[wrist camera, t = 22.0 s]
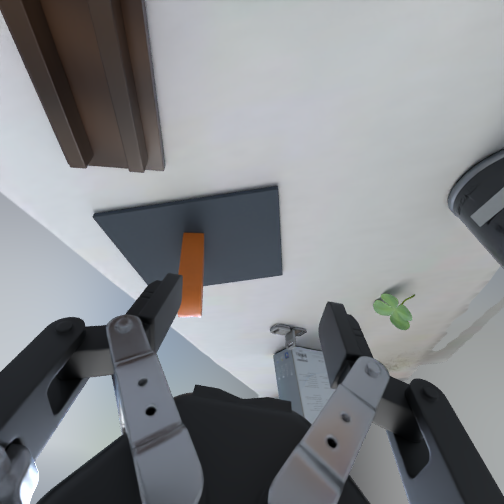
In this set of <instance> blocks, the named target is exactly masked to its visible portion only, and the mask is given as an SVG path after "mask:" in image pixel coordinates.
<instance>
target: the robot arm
mask: <svg viewBox="0 0 504 504" xmlns="http://www.w3.org/2000/svg"><path fill="white" fill-rule="evenodd" d="M448 207H449V209H450V210H451V211H452V212H453V213H454V215H455V216H457V217H458V218H459V219H460V220H461V221H462V222H463V223H464V224H465V225H466V227H467V228H468V229H469V230H470V231H471V232H472V234H473V235H474V236H475V237H476V238H477V239H478V240H479V242H480V243H481V244H482V245H483V246H484V247H485V248H486V249H487V251H488V252H489V253H490V254H491V255H492V256H493V257H494V259H495V260H496V261H497V262H498V263H499V264H500V265H501V266H502V268H503V269H504V150H502V151H499V152H497V153H495V154H493V155H491V156H490V157H488V158H486V159H484V160H483V161H481V162H480V163H478V164H477V165H476V166H474V167H473V168H472V169H470V170H469V171H468V172H467V173H466V174H465V175H464V176H463V177H462V178H461V179H460V180H459V181H458V182H457V183H456V185H455V186H454V188H453V189H452V191H451V193H450V195H449V198H448ZM182 286H183V276H182V275H179V274H173V273H168V274H167V275H166V276H165V278H164V279H163V280H162V281H160V280H156V281H154V282H152V283H151V284H149V285H148V286H147V287H146V289H145V290H144V292H142V294H141V295H140V297H139V298H138V299H137V300H136V301H135V303H134V304H133V305H132V307H131V308H130V309H129V310H128V312H127V313H126V314H125V315H121V316H118V317H115V318H114V319H112V320H111V321H110V322H109V323H108V324H107V325H103V326H89V327H85V323H84V321H83V320H82V319H80V318H76V317H68V318H63V319H59V320H57V321H55V322H53V323H51V324H50V325H48V326H47V327H46V328H45V329H44V330H43V331H42V332H41V333H40V334H39V335H38V336H37V337H36V338H35V339H34V340H33V341H32V342H31V343H30V344H29V345H28V346H27V347H26V348H25V349H24V350H23V351H21V353H19V354H18V356H17V357H15V358H14V359H13V360H12V361H11V362H10V363H9V364H8V365H7V366H6V367H5V368H4V369H3V370H2V371H1V372H0V504H29V502H30V499H31V496H32V494H33V492H34V490H35V487H36V485H37V482H38V470H37V467H36V465H35V460H36V459H37V457H38V456H39V454H40V453H41V451H42V450H43V448H44V447H45V445H46V444H47V442H48V440H49V439H50V437H51V436H52V434H53V433H54V431H55V430H56V428H57V427H58V425H59V424H60V422H61V421H62V419H63V418H64V416H65V414H66V413H67V411H68V410H69V408H70V407H71V405H72V404H73V402H74V401H75V399H76V398H77V396H78V394H79V393H80V392H81V390H82V388H83V387H84V385H85V384H86V382H87V381H88V379H89V378H90V377H97V376H106V375H112V380H113V386H114V391H115V396H116V401H117V407H118V413H119V419H120V425H121V432H122V436H120V437H119V438H118V439H116V440H115V441H114V442H112V443H111V444H110V445H108V446H107V447H106V448H104V449H103V450H102V451H101V452H99V453H98V454H97V455H95V456H94V457H93V458H92V459H90V460H89V461H87V462H86V463H85V464H84V465H82V466H81V467H80V468H79V469H77V470H76V471H74V472H73V473H72V474H71V475H69V476H68V477H67V478H65V479H64V480H63V481H62V482H60V483H59V484H57V485H56V486H55V487H54V488H52V489H51V490H50V491H49V492H48V493H46V495H44V496H43V497H42V498H41V499H40V500H39V501H38V502H37V503H36V504H370V503H369V501H368V500H367V498H366V497H365V496H364V494H363V493H362V492H361V490H360V489H359V487H358V486H357V485H356V483H355V482H354V480H353V479H352V478H351V476H350V475H349V473H350V470H351V468H352V466H353V464H354V462H355V459H356V457H357V455H358V453H359V450H360V448H361V446H362V444H363V441H364V439H365V437H366V434H367V432H368V430H369V428H370V426H371V423H374V424H376V425H378V426H380V427H382V428H384V429H386V432H387V435H388V438H389V442H390V445H391V448H392V451H393V454H394V457H395V460H396V463H397V467H398V470H399V473H400V476H401V479H402V483H403V485H404V488H405V492H406V495H407V498H408V501H409V504H504V496H503V494H502V493H501V491H500V489H499V487H498V486H497V484H496V482H495V480H494V479H493V478H492V475H491V474H490V472H489V470H488V469H487V467H486V465H485V463H484V462H483V460H482V458H481V457H480V455H479V453H478V451H477V450H476V448H475V446H474V444H473V443H472V441H471V439H470V438H469V436H468V434H467V432H466V431H465V429H464V427H463V426H462V424H461V422H460V420H459V419H458V417H457V416H456V413H455V412H454V410H453V408H452V407H451V405H450V403H449V401H448V400H447V398H446V397H445V395H444V394H443V393H442V391H441V390H439V389H438V388H437V387H436V386H435V385H433V384H432V383H430V382H428V381H426V380H423V379H413V380H412V381H411V383H410V384H407V383H405V382H402V381H400V380H398V379H395V378H393V377H391V376H390V375H389V372H388V370H387V369H386V368H385V366H384V365H383V364H382V363H380V362H379V361H377V360H376V359H374V358H373V356H372V354H371V351H370V349H369V347H368V344H367V342H366V340H365V338H364V335H363V333H362V331H361V328H360V326H359V324H358V322H357V321H356V320H355V318H354V317H353V316H352V315H349V314H347V313H346V310H345V308H344V305H343V304H340V303H334V302H328V303H327V304H326V307H325V310H324V312H323V315H322V318H321V321H320V323H319V338H320V343H321V347H322V352H323V356H324V361H325V365H326V370H327V374H328V379H329V384H330V388H332V389H336V390H335V391H334V393H333V394H332V396H331V397H330V398H329V400H328V401H327V403H326V404H325V406H324V407H323V409H322V410H321V412H320V413H319V415H318V416H317V418H316V419H315V421H314V422H313V424H311V423H310V422H309V421H308V420H307V419H306V418H304V417H303V416H302V415H300V414H298V413H297V412H295V411H293V410H292V406H291V401H286V400H281V399H274V398H269V397H264V398H252V399H241V398H239V397H236V396H234V395H232V394H229V393H227V392H225V391H223V390H221V389H218V388H212V387H206V386H201V385H195V388H194V391H193V393H186V394H182V395H179V396H176V397H174V398H173V396H172V394H171V391H170V388H169V386H168V383H167V380H166V378H165V375H164V372H163V370H162V367H161V364H160V361H159V359H158V356H157V354H156V353H157V351H158V349H159V347H160V345H161V343H162V341H163V340H164V338H165V336H166V334H167V332H168V330H169V328H170V326H171V324H172V322H173V320H174V318H175V316H176V314H177V312H178V310H179V308H180V305H181V301H182Z"/></svg>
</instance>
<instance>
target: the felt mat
mask: <svg viewBox="0 0 504 504" xmlns="http://www.w3.org/2000/svg"><path fill="white" fill-rule="evenodd" d="M93 218H94V220H95V221H96V222H97V223H98V224H99V226H100V227H101V228H102V229H103V231H104V232H105V233H106V234H107V236H108V237H109V238H110V239H111V240H112V242H113V243H114V244H115V245H116V247H117V248H118V249H119V250H120V252H121V253H122V254H123V255H124V256H125V258H126V259H127V260H128V261H129V263H130V264H131V265H132V266H133V268H134V269H135V270H136V271H137V272H138V274H139V275H140V276H141V277H142V279H143V280H144V281H145V282H146V284H147V285H149V284H151V283H152V282H154V281H156V280H160V281H162V280H163V279H164V278H165V276H166V275H167V274H168V273H173V274H178V273H179V265H180V257H181V249H182V240H183V233H204V276H203V286H208V285H215V284H222V283H229V282H237V281H244V280H251V279H258V278H265V277H273V276H280V275H282V256H281V236H280V216H279V195H278V186H273V187H267V188H260V189H254V190H247V191H240V192H234V193H227V194H221V195H214V196H208V197H201V198H194V199H188V200H181V201H175V202H168V203H161V204H155V205H148V206H142V207H135V208H128V209H122V210H115V211H109V212H102V213H95V214H94V215H93Z"/></svg>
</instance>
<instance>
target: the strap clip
mask: <svg viewBox="0 0 504 504" xmlns="http://www.w3.org/2000/svg"><path fill="white" fill-rule="evenodd" d="M302 331H303V332H302ZM270 332H271V333H273V334H277V335H285V334H286V335H285V340H286V348H287V349H288V350H291V349H293V348H295V346H296V336H301V335H303V334H304V333H306V332H307V331H306V330H305V329H301V328H292V329H291V330H290V327H289V326H286V325H276V326H274V327H272V328H271V329H270ZM301 332H302V333H301ZM299 333H300V334H299ZM292 342H293V345H292V346H290V347H288V344H290V343H292Z"/></svg>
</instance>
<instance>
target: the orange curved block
mask: <svg viewBox="0 0 504 504" xmlns="http://www.w3.org/2000/svg"><path fill="white" fill-rule="evenodd" d="M178 274H179V275H182V276H183V286H182V301H181V305H180V308H179V310H178V317H201V316H202V298H203V276H204V233H183V240H182V249H181V257H180V265H179V273H178Z"/></svg>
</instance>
